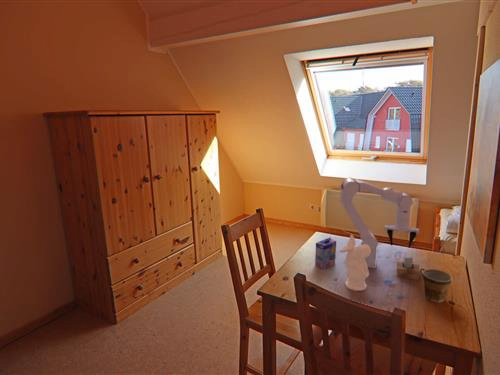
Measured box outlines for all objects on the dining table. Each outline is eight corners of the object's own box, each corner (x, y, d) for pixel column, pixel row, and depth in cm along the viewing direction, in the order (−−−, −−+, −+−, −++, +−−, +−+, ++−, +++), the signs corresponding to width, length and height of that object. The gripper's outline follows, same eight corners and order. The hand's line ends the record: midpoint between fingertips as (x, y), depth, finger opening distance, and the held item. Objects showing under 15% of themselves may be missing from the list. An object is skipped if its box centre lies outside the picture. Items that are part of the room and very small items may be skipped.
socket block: (396, 276, 143) (397, 268, 142) (396, 267, 151) (397, 259, 150) (419, 280, 140) (419, 271, 139) (417, 270, 148) (418, 262, 147)
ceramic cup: (455, 302, 123) (458, 278, 121) (434, 307, 120) (437, 283, 118) (428, 285, 135) (430, 264, 133) (409, 289, 132) (411, 268, 130)
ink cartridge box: (323, 269, 151) (324, 241, 148) (314, 265, 156) (314, 238, 152) (336, 263, 157) (337, 236, 154) (327, 259, 162) (327, 233, 158)
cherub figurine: (372, 291, 132) (375, 242, 127) (344, 295, 130) (347, 246, 125) (356, 277, 144) (359, 231, 138) (331, 280, 141) (333, 234, 136)
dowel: (403, 274, 145) (404, 258, 143) (403, 271, 147) (405, 255, 146) (411, 276, 143) (412, 259, 141) (411, 273, 146) (412, 257, 144)
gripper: (385, 219, 148) (383, 246, 151) (420, 223, 142) (417, 251, 145) (385, 215, 154) (384, 241, 157) (419, 218, 148) (416, 245, 151)
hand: (400, 245), depth 152 cm, fingers open, 7 cm apart
